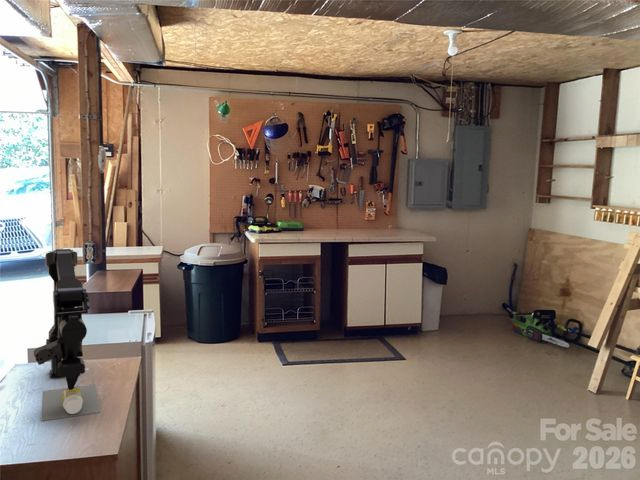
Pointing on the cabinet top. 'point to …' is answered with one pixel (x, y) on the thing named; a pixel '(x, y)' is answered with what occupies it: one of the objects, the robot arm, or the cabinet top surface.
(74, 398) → the supplement bottle
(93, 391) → the flat gray panel
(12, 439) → the cabinet top surface
